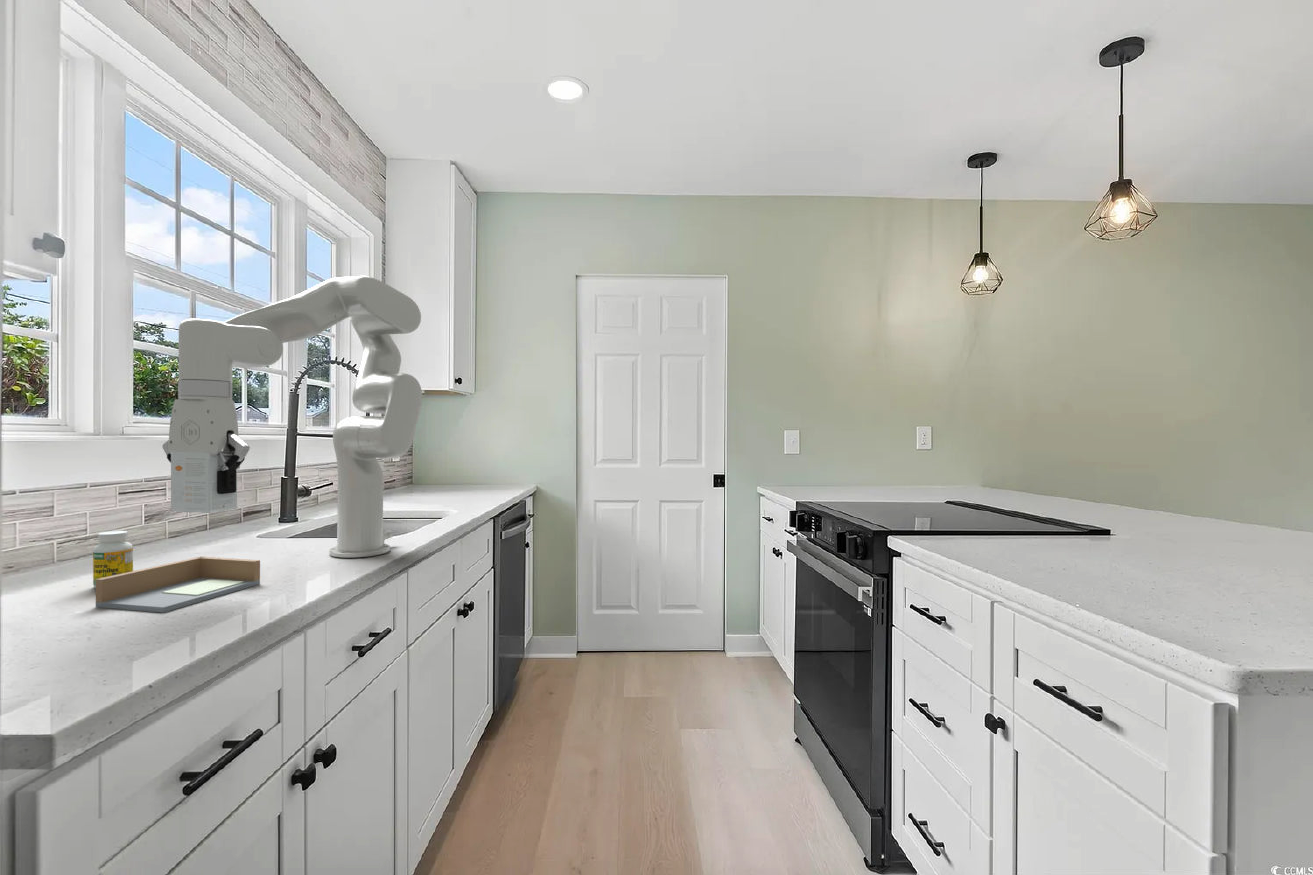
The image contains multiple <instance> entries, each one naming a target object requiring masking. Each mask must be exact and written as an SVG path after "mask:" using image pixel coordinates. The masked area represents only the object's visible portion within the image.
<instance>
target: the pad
mask: <svg viewBox="0 0 1313 875" xmlns="http://www.w3.org/2000/svg"><path fill="white" fill-rule="evenodd" d="M241 583H244V582H242V581H228V580H214V579H210V580H206V581H202V582H199V583H195V584H191V585H187V586H183V587H180V588H176V589H172V590H168V591H164V592H162V593H166V594H179V595H192V596H199V595H202V594H206V593H209V592H213V591H216V590H220V589H223V588H227V587H230V586H234V585H237V584H241Z"/></svg>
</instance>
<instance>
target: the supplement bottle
mask: <svg viewBox="0 0 1313 875" xmlns="http://www.w3.org/2000/svg"><path fill="white" fill-rule="evenodd" d="M128 533H129V532H128V531H126V530H114V531H113V530H112V531H105V532H103V531H102V532H99V533H98V534H97V541H98V542H99V543H98V544H97V545H95V546H94V547H93V549H92V579H93V580H92V585H93V588H94V589H96V579H100V578H104V577H109V576H113V575H118V574H123V573H127V572H132V571H134V546H133V544H132V543H131V542H129V541H127V540H128V539H129V536H128V535H129V534H128Z"/></svg>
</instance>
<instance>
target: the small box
mask: <svg viewBox="0 0 1313 875" xmlns="http://www.w3.org/2000/svg"><path fill="white" fill-rule="evenodd" d="M225 452H229V451H223V452H222V453H225ZM232 452H235V451H232ZM233 454H234V453H233ZM224 458H225V460H226V462H227V461H228V460H229V457H224ZM218 471H221V469H220V467H219V465H218V456H217V455H216V456H214V457H212V456H211V455H210V452H180V451H171V463H170V511H171V512H179V513H199V514H200V513H201V514H202V513H203V514H211V513H217V512H225V511H230V510H232V511H233V510H236V509H237V508H238V470H236V492H235V493H227V494H218V493H217V472H218ZM237 510H238V509H237Z"/></svg>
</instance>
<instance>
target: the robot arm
mask: <svg viewBox="0 0 1313 875" xmlns="http://www.w3.org/2000/svg"><path fill="white" fill-rule="evenodd" d="M347 318H349V319H350V323H351V326H352V327H353V329H354V330H355V332H356V334H357V335H358V338H359V340H360V343H361V346H362V359H361V363H360V366H359V369H358V373H357V376H356V380H355V383H354V386H353V390H352V399H351V400H352V404H353V406H354V407H355V408H356V409H357V410H358V411H360V412H363V413H366V414H382V415H383V414H384V415H383V416H375V415H374V416H373V415H370V416H369V415H367V416H366V415H356V416H354V415H353V416H349V417H346V418H344V419H341V421H339V422H338V423H337V424H336V426H335V427H334V429H333V433H332V442H333V448H334V454H335V457H336V465H337V510H336V512H337V514H336V515H337V516H336V518H337V520H336V524H337V526H336V528H337V529H336V534H337V535H336V537H337V538H336V546H334V547H331V548H329V550H328V551H329V552H328V553H329V556H331V557H333V558H342V559H344V558H345V559H346V558H350V559H352V558H353V559H354V558H366V557H367V558H368V557H374V556H375V557H376V556H379V555H384V554H386V553H388V552H389V553H390V550H391V546H390V544H386V543H385V541H386V540H389V539H391V538H393V536H394V532H393V530H390V529H389V530H384V473H383V470H382V467H381V465H380V462H379V461H378V459H397V458H401V457H403V456H404V455H406V453H407V452H408V451H409V450H410V448H411V446H412V443H413V439H414V437H415V436H414V435H415V432H416V427H417V424H418V420H419V416H420V412H421V407H422V404H423V403H422V402H423V390H422V387H421V384H420V382H419V381H418V379H417V378H416V377H414V376H413V375H411V374H410V373H403V372H400V369H401V364H402V356H401V353H400V350H399V348H398V346H397V345H396V343H395V341H394V340H393V337H392V336H391V335H402V334H403V335H405V334H410V333H412V332H415V331H416V330H417V329H418V328H419V326H420V325H421V322H422V313H421V310H420V308H419V306H418V305H417V303H416V301H415V300H413V299H412V298H411V297H410V296H408V295H406V294H405V293H403V292H401V291H400V290H398V289H396V288H394V287H392V286H390V285H389V284H387V283H385V282H383V281H381V280H380V279H377V278H375V277H372V276H369V275H367V276H366V275H360V276H359V275H358V276H357V275H356V276H342V277H335V278H334V277H333V278H330V279H327V280H325V281H323V282H321V283H319V284H316V285H314V286H313V287H311V288H308V289H307V290H304V291H302V292H301V293H298V294H296V295H294V296H292V297H290V298H286V299H283V300H280V301H277V302H274V303H271V304H269V305H266V306H264V307H260V308H257V309H254V310H251V311H248V312H245V313H242V314H238V315H237V316H234V317H232V318H230V319H228V320H226V321H218V320H213V319H205V318H204V319H203V318H189V319H185V320H182V321H181V322H180V324H179V326H178V380H177V381H178V384H177V393H178V394H177V396H178V399H174V403H173V406H172V409H171V415H170V422H169V431H168V440H167V441H165V442H164V443H163V444H162V450H163V451H164V453H165V456H166V459H167V460H168V461H169V463H170V464H171V451H180V452H210V455H211V456H212V457H214V456H216V455H217V456H218V465H219V467H220V469H221V471H218V472H217V493H218V494H227V493H235V492H236V470H237V471H238V470H240V467H241V465H242V463H243V462H244V461H245V459H246V458H245V457H246V456H247V454H248V453H249V451H250V449H251V448H250V445H249V444H248V443H246V442H245V441H244V440H242V439H241V438H240V437H239V424H238V423H239V422H238V421H239V420H238V414H237V410H236V409H237V408H236V403H235V401H234V400H233V369H234V368H235V369H236V368H244V369H245V368H264V367H269V366H271V365H273V364H276V363H277V362H278V361H279V360H280V359H281V357H283V353H284V343H285V344H286V343H290V342H297V341H302V340H307V339H311V338H314V337H316V336H317V335H320V334H321V333H323V332H325V331H326V330H328V329H330V328H332V327H333V326H336V325H337V324H338V323H340V322H342V321H344V320H345V319H347ZM223 451H229V452H225V453H222V452H223ZM232 451H235V452H232ZM233 453H234V454H233ZM224 457H229V460H228V461H227V462H226V460H225V458H224Z"/></svg>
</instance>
